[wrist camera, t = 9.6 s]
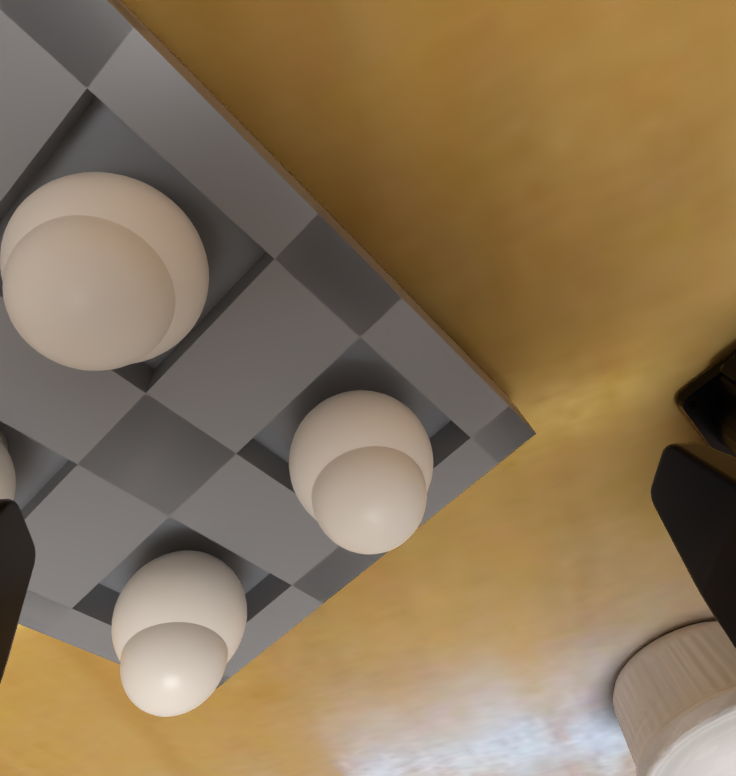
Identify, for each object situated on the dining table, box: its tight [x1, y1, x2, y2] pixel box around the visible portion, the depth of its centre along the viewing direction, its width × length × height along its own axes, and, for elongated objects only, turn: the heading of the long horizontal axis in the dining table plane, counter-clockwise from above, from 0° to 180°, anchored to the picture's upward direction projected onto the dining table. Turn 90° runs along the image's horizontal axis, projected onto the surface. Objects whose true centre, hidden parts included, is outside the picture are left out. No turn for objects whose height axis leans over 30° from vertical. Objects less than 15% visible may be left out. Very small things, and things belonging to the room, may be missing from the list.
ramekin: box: [613, 621, 736, 776], centre depth 31 cm, size 11×11×5 cm
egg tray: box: [0, 0, 536, 717], centre depth 15 cm, size 18×27×7 cm, turn 43°
